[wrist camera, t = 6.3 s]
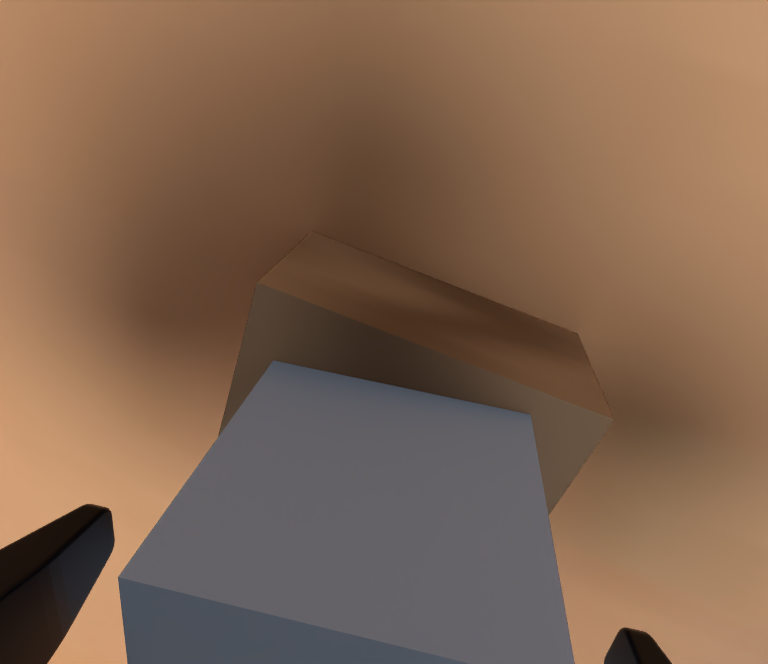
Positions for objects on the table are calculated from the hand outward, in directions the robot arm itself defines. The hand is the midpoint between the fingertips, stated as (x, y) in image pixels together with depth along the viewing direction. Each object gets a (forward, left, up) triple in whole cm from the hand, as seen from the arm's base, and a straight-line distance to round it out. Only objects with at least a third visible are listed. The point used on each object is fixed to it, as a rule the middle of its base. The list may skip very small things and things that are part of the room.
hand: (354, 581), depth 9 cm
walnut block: (0, 0, -6) cm, 6 cm away
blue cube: (0, 0, -2) cm, 2 cm away
